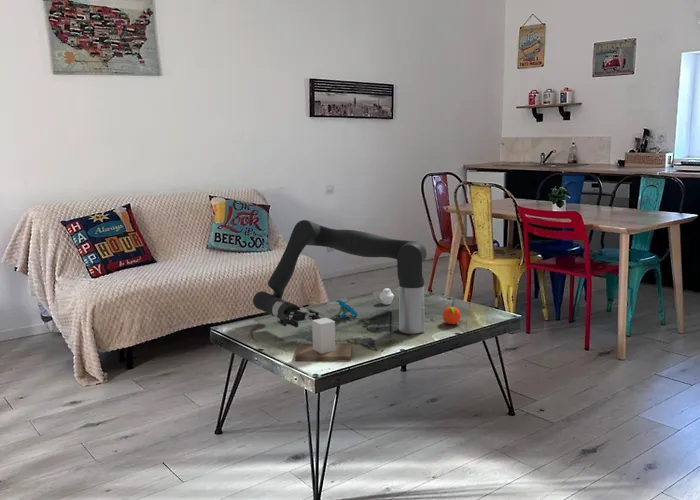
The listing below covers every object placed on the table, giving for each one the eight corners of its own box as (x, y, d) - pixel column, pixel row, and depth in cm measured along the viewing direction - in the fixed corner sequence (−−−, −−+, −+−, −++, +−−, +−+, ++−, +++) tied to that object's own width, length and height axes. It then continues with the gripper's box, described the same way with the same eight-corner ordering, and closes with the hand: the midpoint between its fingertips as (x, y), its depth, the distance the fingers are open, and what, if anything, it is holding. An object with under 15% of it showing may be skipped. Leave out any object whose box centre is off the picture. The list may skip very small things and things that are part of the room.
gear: (363, 315, 244) (345, 299, 241) (354, 327, 243) (336, 311, 240) (352, 312, 254) (335, 297, 251) (343, 323, 253) (326, 308, 250)
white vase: (393, 301, 270) (393, 286, 269) (394, 305, 264) (394, 289, 263) (379, 301, 270) (379, 286, 269) (379, 305, 264) (379, 289, 263)
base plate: (351, 347, 212) (351, 329, 211) (350, 360, 199) (350, 341, 198) (299, 347, 212) (298, 329, 211) (295, 361, 200) (294, 341, 198)
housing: (326, 345, 209) (326, 317, 207) (335, 350, 205) (334, 321, 203) (312, 349, 206) (312, 320, 204) (321, 353, 202) (320, 324, 200)
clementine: (462, 327, 232) (463, 309, 231) (444, 327, 232) (444, 309, 231) (459, 321, 240) (459, 303, 239) (441, 321, 240) (441, 304, 239)
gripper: (268, 305, 221) (289, 315, 208) (302, 298, 229) (325, 308, 216) (269, 325, 222) (290, 336, 209) (303, 318, 230) (326, 329, 217)
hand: (308, 322), depth 212 cm, fingers open, 8 cm apart
